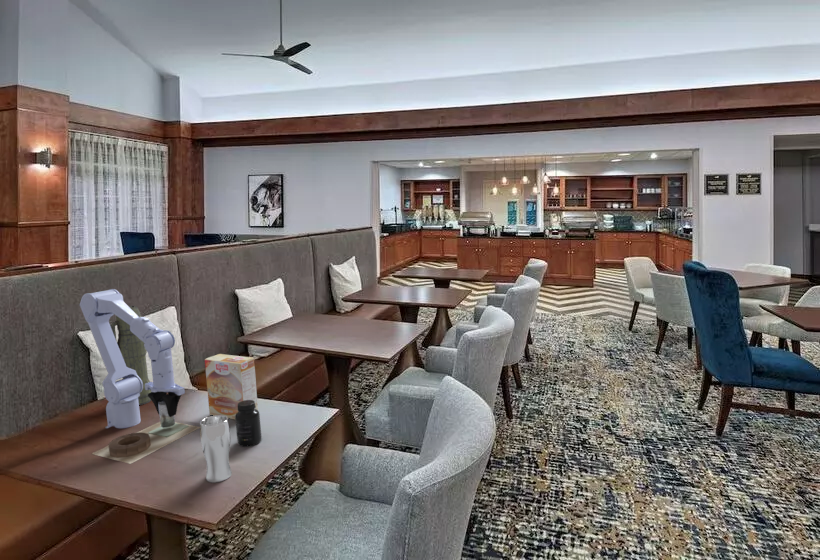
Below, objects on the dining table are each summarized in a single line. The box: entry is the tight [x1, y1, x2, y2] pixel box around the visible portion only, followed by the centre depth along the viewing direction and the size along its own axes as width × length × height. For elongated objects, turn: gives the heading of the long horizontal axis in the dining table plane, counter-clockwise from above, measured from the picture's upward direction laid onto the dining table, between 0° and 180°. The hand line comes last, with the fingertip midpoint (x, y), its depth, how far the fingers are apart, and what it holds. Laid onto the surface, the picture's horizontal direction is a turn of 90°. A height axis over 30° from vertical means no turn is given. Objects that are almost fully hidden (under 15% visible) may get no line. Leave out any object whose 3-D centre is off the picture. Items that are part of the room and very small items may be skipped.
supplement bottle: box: [234, 400, 263, 448], centre depth 144 cm, size 7×7×12 cm
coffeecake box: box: [204, 353, 259, 420], centre depth 164 cm, size 15×7×20 cm, turn 67°
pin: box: [158, 398, 176, 428], centre depth 152 cm, size 4×4×8 cm
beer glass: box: [199, 415, 233, 483], centre depth 125 cm, size 7×7×15 cm
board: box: [91, 421, 200, 465], centre depth 146 cm, size 16×24×4 cm, turn 156°
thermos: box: [110, 305, 152, 406], centre depth 177 cm, size 9×12×35 cm
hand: (167, 414), depth 152 cm, fingers closed on pin, 4 cm apart
